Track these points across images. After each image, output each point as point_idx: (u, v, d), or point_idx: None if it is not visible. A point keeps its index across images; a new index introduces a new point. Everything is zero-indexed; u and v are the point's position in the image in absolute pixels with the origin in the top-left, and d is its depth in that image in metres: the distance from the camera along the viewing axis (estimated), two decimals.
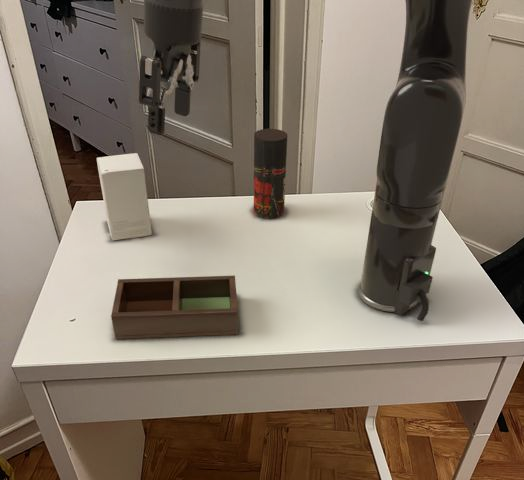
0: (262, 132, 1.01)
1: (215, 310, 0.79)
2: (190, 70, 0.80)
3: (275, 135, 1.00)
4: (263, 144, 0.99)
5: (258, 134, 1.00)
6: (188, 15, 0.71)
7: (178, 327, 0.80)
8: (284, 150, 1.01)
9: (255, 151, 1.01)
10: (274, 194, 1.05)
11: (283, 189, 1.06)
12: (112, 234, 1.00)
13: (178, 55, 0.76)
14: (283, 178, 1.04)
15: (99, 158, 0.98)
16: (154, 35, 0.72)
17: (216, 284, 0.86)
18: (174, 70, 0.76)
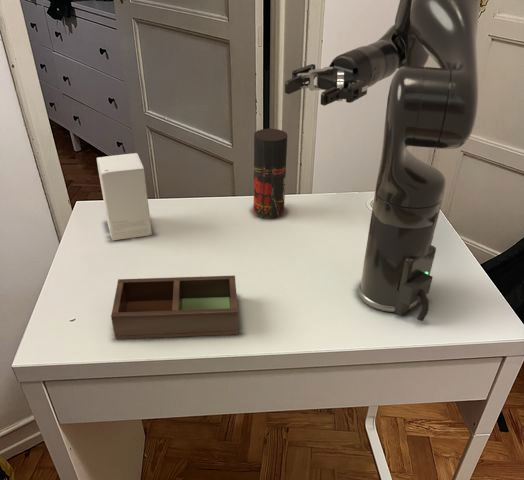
0: (262, 132, 1.01)
1: (215, 310, 0.79)
2: (340, 76, 1.04)
3: (275, 135, 1.00)
4: (263, 144, 0.99)
5: (258, 134, 1.00)
6: (347, 52, 1.09)
7: (178, 327, 0.80)
8: (284, 150, 1.01)
9: (255, 151, 1.01)
10: (274, 194, 1.05)
11: (283, 189, 1.06)
12: (112, 234, 1.00)
13: (336, 72, 1.07)
14: (283, 178, 1.04)
15: (99, 158, 0.98)
16: None
17: (216, 284, 0.86)
18: (323, 69, 1.07)
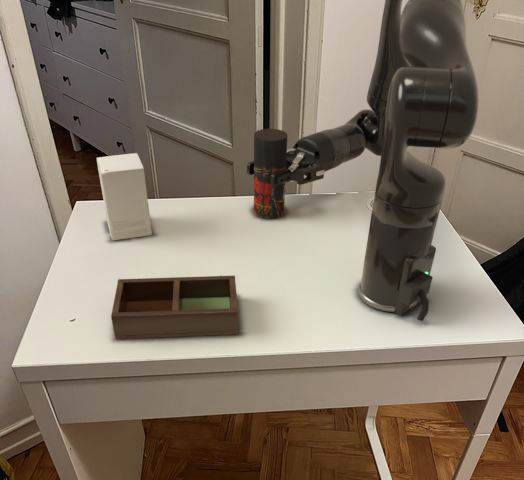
0: (262, 132, 1.01)
1: (215, 310, 0.79)
2: (298, 159, 1.05)
3: (275, 135, 1.00)
4: (263, 144, 0.99)
5: (258, 134, 1.00)
6: None
7: (178, 327, 0.80)
8: (284, 150, 1.01)
9: (255, 151, 1.01)
10: (274, 194, 1.05)
11: (283, 189, 1.06)
12: (112, 234, 1.00)
13: (298, 154, 1.09)
14: None
15: (99, 158, 0.98)
16: None
17: (216, 284, 0.86)
18: None
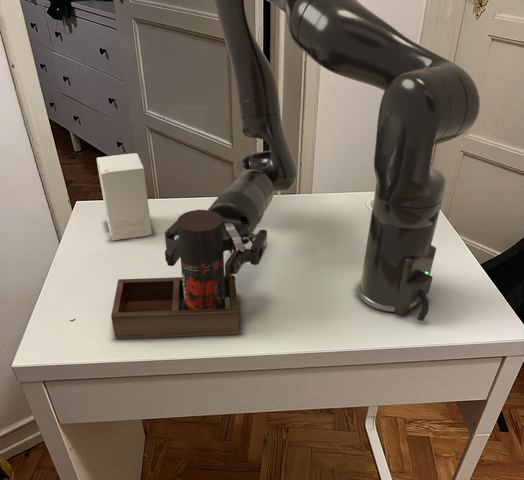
0: (186, 219, 0.75)
1: (215, 310, 0.79)
2: (233, 233, 0.81)
3: (206, 220, 0.75)
4: (200, 236, 0.73)
5: (185, 224, 0.74)
6: (221, 195, 0.87)
7: (178, 327, 0.80)
8: (222, 235, 0.76)
9: (186, 246, 0.75)
10: (217, 291, 0.80)
11: None
12: (112, 234, 1.00)
13: None
14: (223, 268, 0.79)
15: (99, 158, 0.98)
16: None
17: None
18: None
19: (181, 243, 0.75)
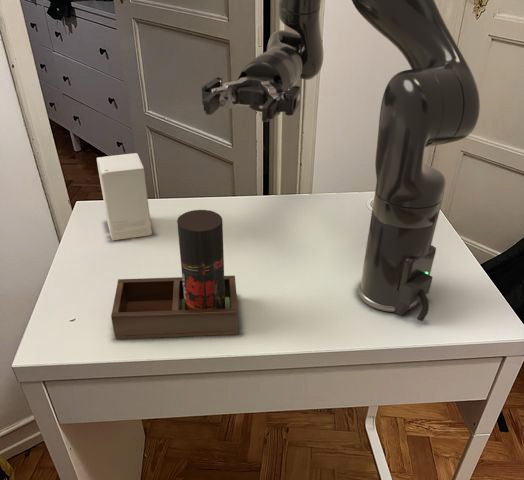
0: (186, 219, 0.75)
1: (215, 310, 0.79)
2: (268, 86, 0.83)
3: (207, 220, 0.75)
4: (200, 236, 0.73)
5: (185, 224, 0.74)
6: (254, 59, 0.89)
7: (178, 327, 0.80)
8: (222, 235, 0.76)
9: (186, 246, 0.75)
10: (217, 291, 0.80)
11: None
12: (112, 234, 1.00)
13: (254, 83, 0.86)
14: (223, 268, 0.79)
15: (99, 158, 0.98)
16: None
17: None
18: None
19: (181, 243, 0.75)
